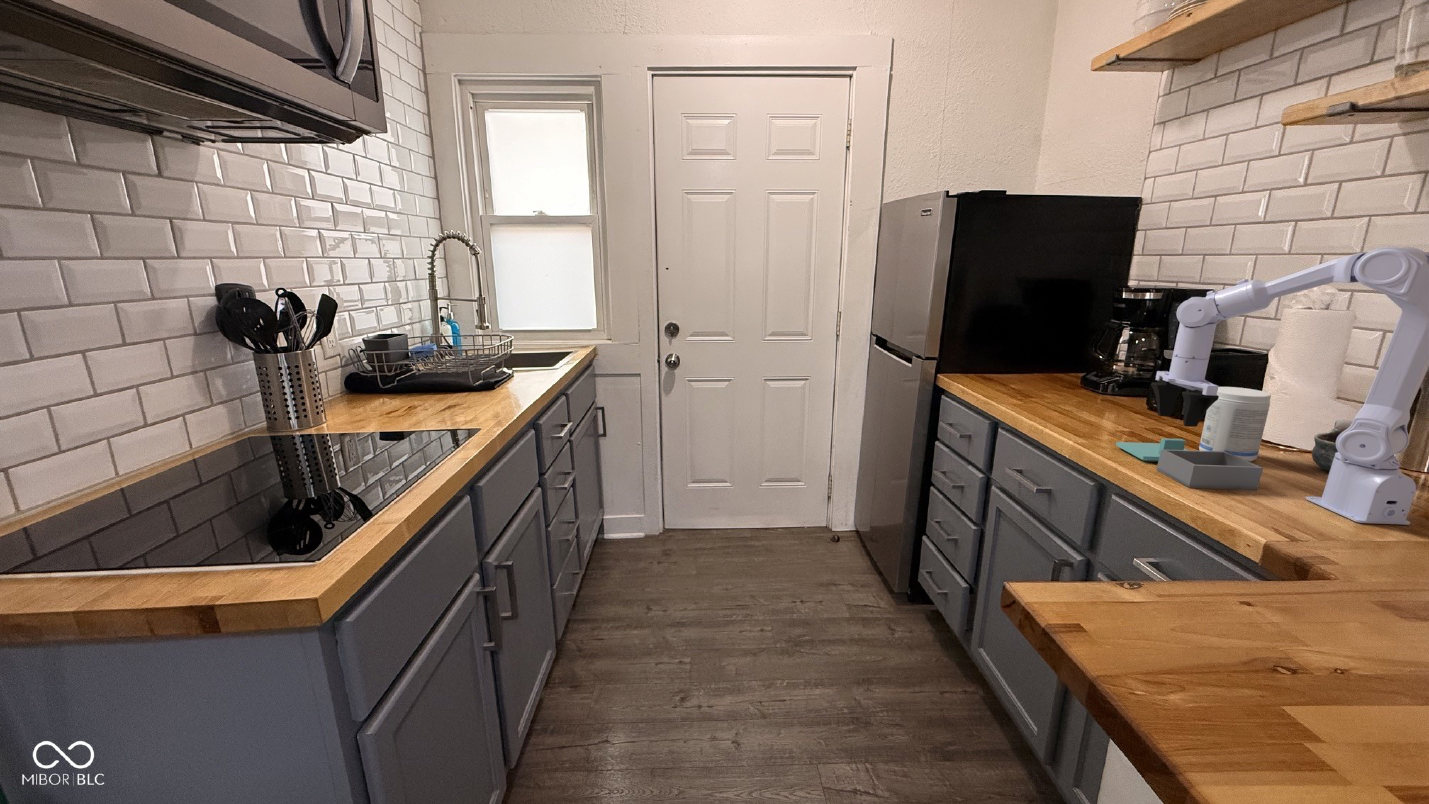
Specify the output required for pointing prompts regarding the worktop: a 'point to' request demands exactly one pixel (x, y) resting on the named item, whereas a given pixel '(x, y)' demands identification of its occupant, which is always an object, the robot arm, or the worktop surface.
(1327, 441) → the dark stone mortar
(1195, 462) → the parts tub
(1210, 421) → the supplement tub
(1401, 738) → the worktop surface
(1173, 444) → the lid
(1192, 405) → the robot arm
